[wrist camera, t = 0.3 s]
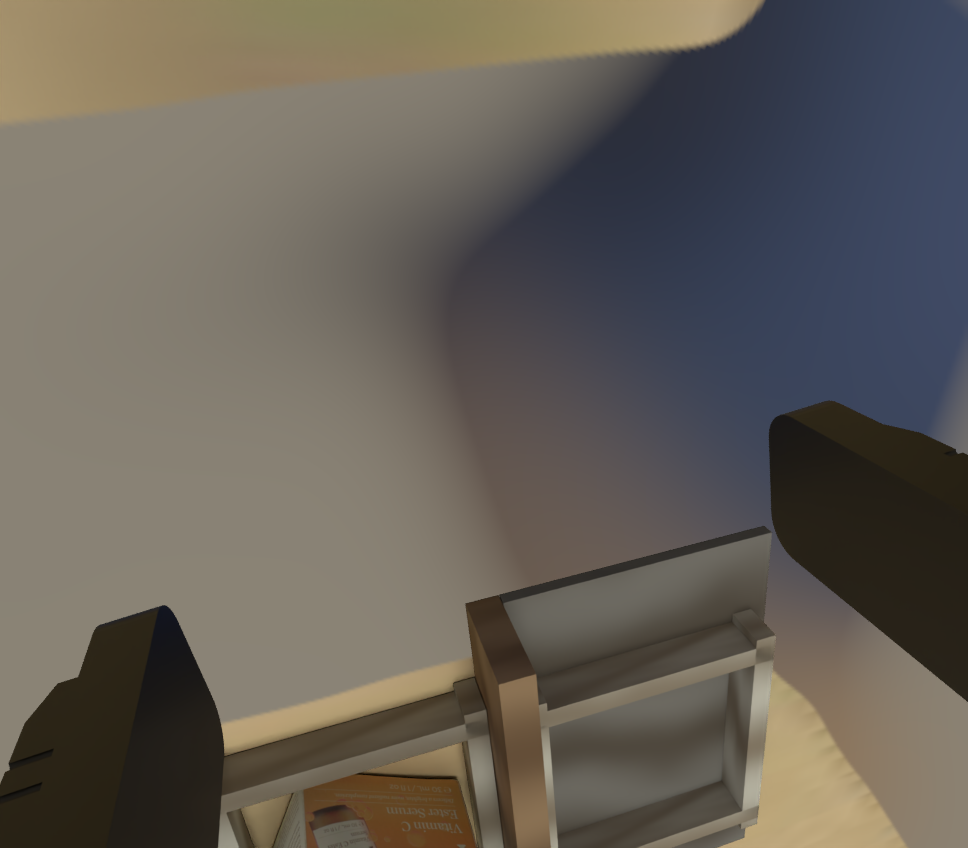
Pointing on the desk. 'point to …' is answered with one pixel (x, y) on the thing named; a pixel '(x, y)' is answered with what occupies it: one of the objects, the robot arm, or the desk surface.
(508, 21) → the desk surface
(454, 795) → the small box
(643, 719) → the door edge frame
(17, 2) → the desk surface
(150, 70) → the desk surface
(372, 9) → the desk surface
